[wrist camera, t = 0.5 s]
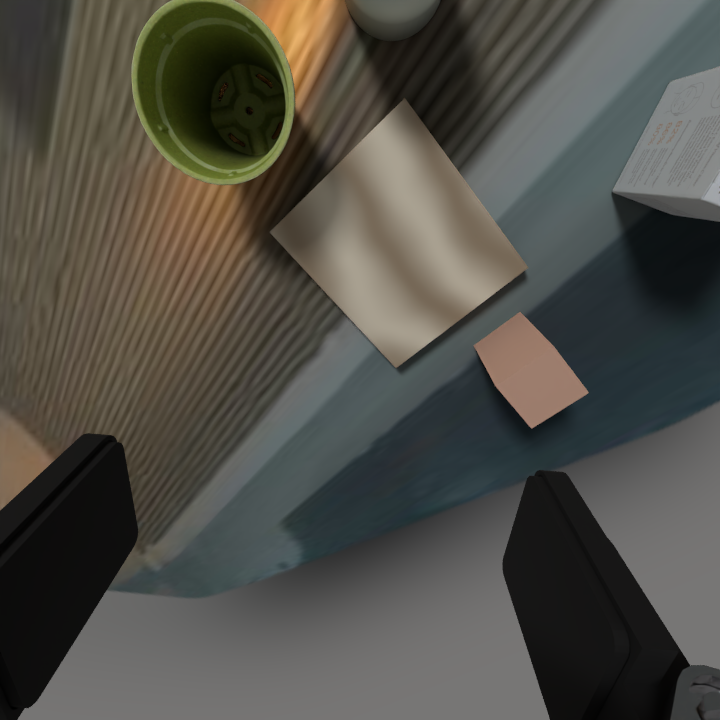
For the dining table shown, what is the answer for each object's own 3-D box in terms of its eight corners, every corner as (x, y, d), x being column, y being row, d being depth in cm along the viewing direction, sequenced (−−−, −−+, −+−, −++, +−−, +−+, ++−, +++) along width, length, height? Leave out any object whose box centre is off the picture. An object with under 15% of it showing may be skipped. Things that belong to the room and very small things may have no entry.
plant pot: (337, 88, 32) (324, 62, 24) (279, 203, 35) (251, 214, 27) (221, 6, 30) (166, -51, 22) (172, 136, 33) (109, 127, 26)
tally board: (403, 100, 32) (404, 97, 31) (522, 263, 37) (528, 267, 35) (273, 229, 36) (269, 232, 35) (395, 361, 41) (395, 368, 39)
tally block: (520, 311, 38) (553, 346, 31) (550, 350, 40) (588, 392, 33) (473, 345, 40) (495, 386, 33) (504, 382, 41) (531, 428, 34)
